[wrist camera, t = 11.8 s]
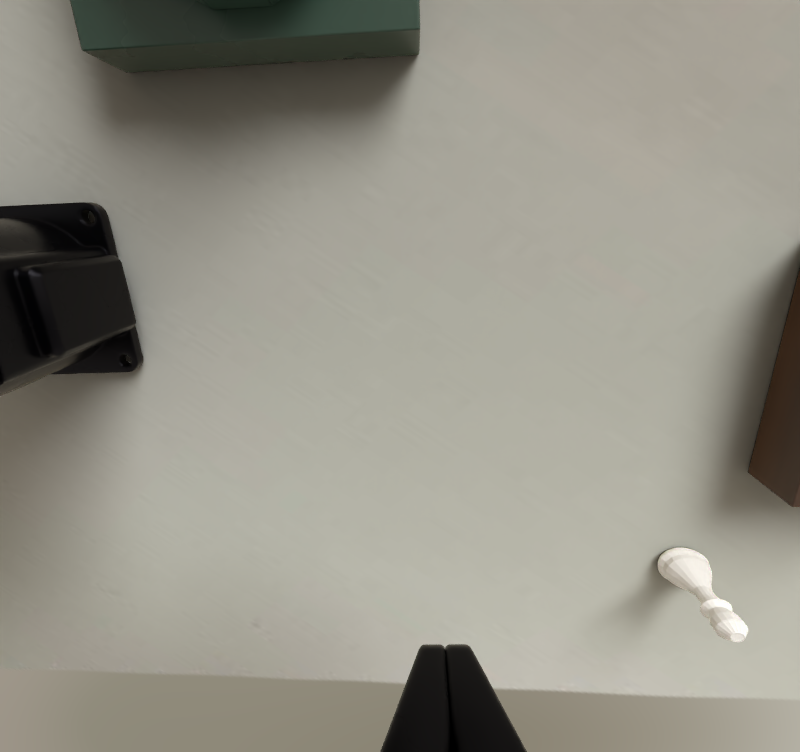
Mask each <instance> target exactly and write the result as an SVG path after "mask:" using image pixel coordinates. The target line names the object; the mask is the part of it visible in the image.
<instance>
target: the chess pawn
mask: <svg viewBox="0 0 800 752" xmlns="http://www.w3.org/2000/svg"><path fill="white" fill-rule="evenodd" d="M658 571H659V572H660V574H661V575H662V576H663V577H664V578H666V579H667V580H669V581H670V582H671V583H672V584H674V585H676V586H677V587H679V588H681V589H684V590H687V591H688V592H690V593H692V594H694V595H696V597H697V598H698V600H699V601H700V602H701V607H700V612H701V613H702V615H703V616H705V617H706V618H708V619H710V625H711V626H712V627H713V629H714V630H715V631H716V633H717V634H718V635H719V636H720V637H722V638H724V639H727V640H731V641H734V642H741V641H743V640H744V639H745V637H746V635H747V633H748V627H747V626H746V624H745V623H744V622H743V621H742V619H741V618H740V617H739V616H738V615H736V614H735V613H733V608H732V606H731V605H730V603H728V602H727V601H725V600H721V599H719V598H718V597H717V596H716V595H715V594H714V592H713V591H712V585H711V582H712V570H711V569H710V564H709V562H708V560H707V559H706V557H705V556H703V555H702V554H700V553H698V552H697V551H694V550H692V549H687V548H673V549H670V550H667V551H665V552H664V553H663V554H661V555H660V557H659V560H658Z"/></svg>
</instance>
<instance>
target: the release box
mask: <svg viewBox="0 0 800 752" xmlns="http://www.w3.org/2000/svg"><path fill="white" fill-rule="evenodd" d="M70 2H71V6H72V10H73V15H74V19H75V23H76V27H77V31H78V36H79V40H80V44H81V48H82V50H83V51H84V52H86V53H88V54H90V55H92V56H94V57H97V58H99V59H101V60H103V61H105V62H107V63H109V64H111V65H113V66H115V67H117V68H119V69H121V70H123V71H125V72H141V71H157V70H174V69H190V68H207V67H223V66H239V65H256V64H272V63H289V62H305V61H322V60H338V59H355V58H371V57H387V56H404V55H418V54H419V44H420V9H419V0H70Z"/></svg>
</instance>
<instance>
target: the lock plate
mask: <svg viewBox="0 0 800 752" xmlns="http://www.w3.org/2000/svg"><path fill="white" fill-rule="evenodd" d="M748 473H749V474H750V475H752V476H753V477H754V478H756V479H757V480H758V481H759V482H761V483H762V484H763V485H765V486H766V487H767V488H769V489H770V490H771V491H772V492H774V493H775V494H776V495H778V496H779V497H780V498H781V499H783V500H784V501H785V502H787V503H788V504H789V505H790V506H792V507H800V269H799V273H798V277H797V281H796V285H795V289H794V293H793V297H792V301H791V305H790V309H789V313H788V317H787V321H786V325H785V328H784V332H783V336H782V340H781V344H780V348H779V352H778V356H777V360H776V364H775V368H774V372H773V376H772V380H771V384H770V388H769V391H768V395H767V399H766V403H765V407H764V411H763V415H762V419H761V423H760V427H759V431H758V435H757V439H756V443H755V447H754V450H753V454H752V458H751V462H750V466H749V470H748Z"/></svg>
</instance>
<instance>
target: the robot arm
mask: <svg viewBox="0 0 800 752" xmlns="http://www.w3.org/2000/svg"><path fill="white" fill-rule="evenodd" d="M90 211H91V212H92V213H93V215H94V217H95V221H94V222H93V223H92V222H91V221H90V220H89V218H88V213H89V212H90ZM135 323H136V320H135V315H134V311H133V307H132V303H131V299H130V295H129V291H128V287H127V283H126V279H125V275H124V271H123V267H122V263H121V261H120V260H119V259H118V255H117V251H116V247H115V243H114V239H113V235H112V231H111V227H110V223H109V219H108V215H107V213H106V211H105V210H104V209H103V208H102V206H100V205H98V204H96V203H63V204H42V205H21V206H0V396H2V395H4V394H6V393H9V392H11V391H13V390H16V389H18V388H20V387H22V386H25V385H27V384H29V383H31V382H34V381H36V380H38V379H41V378H43V377H45V376H47V375H50V374H77V373H109V372H130V371H133V370H135V369H137V368H139V367H140V366H141V365H142V363H143V356H142V352H141V348H140V343H139V339H138V335H137V331H136V327H135ZM125 355H128V356H129V357H130V358H131V363H129V362H128V361H127V360H126V358H125ZM381 752H527V751H526V749H525V748H524V746H523V744H522V742H521V740H520V738H519V736H518V735H517V733H516V731H515V729H514V727H513V725H512V723H511V721H510V720H509V718H508V716H507V714H506V712H505V710H504V708H503V707H502V705H501V703H500V701H499V699H498V697H497V695H496V694H495V692H494V690H493V688H492V686H491V684H490V682H489V681H488V679H487V677H486V675H485V673H484V671H483V669H482V668H481V666H480V664H479V662H478V660H477V658H476V656H475V655H474V653H473V651H472V649H471V648H470V647H469V646H468V645H465V644H455V645H447V646H446V648H444V646H442V645H422V646H421V647H420V649H419V651H418V653H417V656H416V659H415V661H414V664H413V667H412V669H411V672H410V675H409V677H408V680H407V683H406V685H405V688H404V690H403V693H402V696H401V699H400V701H399V704H398V707H397V709H396V712H395V714H394V717H393V720H392V722H391V725H390V728H389V730H388V733H387V736H386V738H385V741H384V743H383V746H382V749H381Z"/></svg>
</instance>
